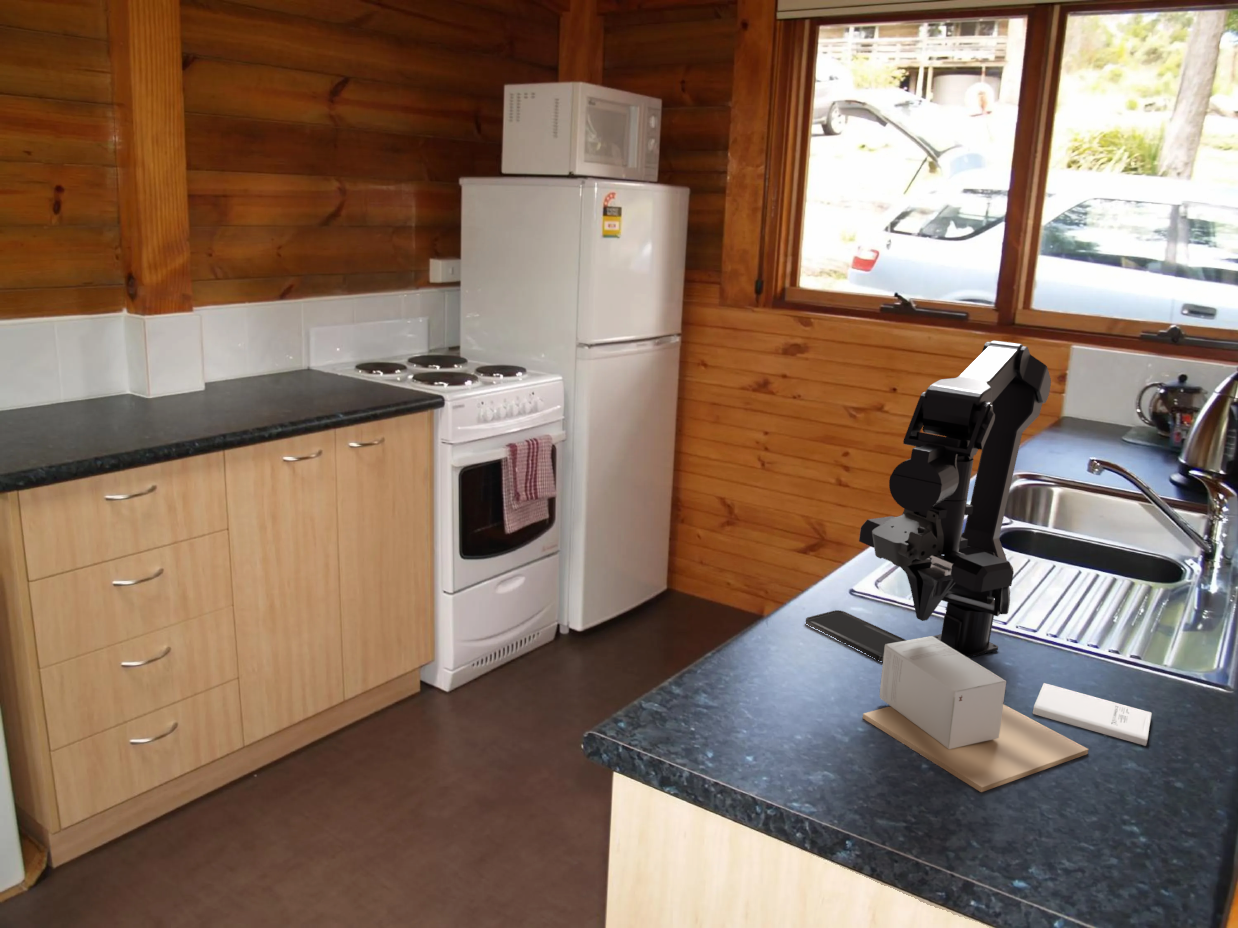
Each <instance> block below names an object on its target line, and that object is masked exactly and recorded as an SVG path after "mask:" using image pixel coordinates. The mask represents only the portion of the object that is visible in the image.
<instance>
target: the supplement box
mask: <svg viewBox="0 0 1238 928" xmlns="http://www.w3.org/2000/svg"><path fill="white" fill-rule="evenodd" d="M933 636H934V635H929V636H924V637H918V638H912V639H908V640H907V639H905V640H906V641H901V642H895V643H889V644H885V648H884V657H883V663H882V666H881V667H882V669H881V676H880V677H881V678H880V679H881V680H880V687H879V698H880V699H881V700H882V701H883V702H884V703H885V704H887V705H888V706H891V707H892V708H894V709H895V710H897V711H898V712H899V713H901V714H902V715H903V716H905V717H906V718H907V719H909V720H910V721H911V722H913V723H914V724H916V725H917V726H918V727H920V728H921V729H922V730H924V731H925V732H926V733H928V734H929V735H930V736H932V737H933V738H935V739H936V740H937V741H939V742H940V743H941V744H943V745H944V746H945V747H947V748H948V749H953V748H957V747H961V746H966V745H970V744H975V743H979V742H983V741H988V740H992V739H997V738H999V732H1000V725H1001V718H1002V710H1003V704H1004V701H1005V693H1006V688H1007V687H1006V686H1007V680H1005V679H1003V678H1002V677H1001V676H999V675H997V674H996V673H994V672H992V671H991V670H989V669H988V668H986V667H984V666H982V665H980V664H979V663H977V662H976V661H974V660H972V659H971V658H970V657H966V656H964V655H963V654H961V653H959V652H958V651H956V650H954V649H953V648H951V647H949V646H948V645H946V644H945V643H943V642H941V641H940V640H938V639H936V638H935V637H933Z"/></svg>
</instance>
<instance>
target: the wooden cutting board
mask: <svg viewBox="0 0 1238 928" xmlns="http://www.w3.org/2000/svg"><path fill="white" fill-rule="evenodd" d="M862 719H863V720H864V721H866V722H868V723H870V724H871V725H873V726H875V727H876V728H877V729H879V730H881V731H882V732H884V733H886V734H888V735H889V736H890V737H892V738H893V739H894V740H896V741H898V742H900V743H901V744H903V745H905V746H906V747H908V748H910V750H912V751H914V752H916V753H918V754H919V755H920V756H922V757H924V758H925V759H927V760H928V761H930V762H932V763H933V764H935V765H937V766H938V767H940V768H941V769H943V770H945V771H946V772H948V774H951V775H952V776H953V777H956V778H957V779H959V780H960V781H962V782H963V783H966V784H967V785H969V786H970V787H972V788H973V789H974V790H976V791H979V792H980V793H985V792H986V791H989V790H992V789H994V788H998V787H1000V786H1003V785H1006V784H1008V783H1011V782H1014V781H1016V780H1019V779H1022V778H1024V777H1028V776H1031V775H1034V774H1036V773H1038V772H1042V771H1045V770H1047V769H1049V768H1053V767H1055V766H1058V765H1061V764H1063V763H1066V762H1069V761H1072V760H1074V759H1077V758H1080V757H1083V756H1087V755H1088V754H1089V748H1087V747H1085V746H1084V745H1081V744H1080V743H1077V742H1076V741H1074V740H1072V739H1070V738H1068V737H1067V736H1065V735H1063V734H1061V733H1058V732H1057V731H1055V730H1053V729H1051V728H1049V727H1047V726H1046V725H1044V724H1041V723H1039V722H1037V721H1036V720H1034V719H1033V718H1031V717H1028V716H1027V715H1024V714H1022V713H1021V712H1019V711H1017V710H1015V709H1014V708H1011V706H1010V707H1009V706H1008V705H1006V704H1004V703H1003V710H1002V718H1001V725H1000V732H999V738H997V739H992V740H988V741H983V742H979V743H975V744H970V745H966V746H961V747H957V748H953V749H948V748H947V747H945V746H944V745H943V744H941V743H940V742H939V741H937V740H936V739H935V738H933V737H932V736H930V735H929V734H928V733H926V732H925V731H924V730H922V729H921V728H920V727H918V726H917V725H916V724H914V723H913V722H911V721H910V720H909V719H907V718H906V717H905V716H903V715H902V714H901V713H899V712H898V711H897V710H895V709H894V708H892V707H891V706H890V705H888V706H886V707H882V708H878V709H875V710H870V711H868V712H864V713H862Z"/></svg>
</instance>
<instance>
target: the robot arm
mask: <svg viewBox="0 0 1238 928" xmlns="http://www.w3.org/2000/svg"><path fill="white" fill-rule="evenodd" d="M981 350H982V351H981V353H980V354H979V355H978V356H977V357H976V358H975V359H974V360H973V361H972V362H971V363H970V364H968V366H967V367H966V368H965V369H964V370H963V371H962V372H961V373H960V374H959V375H958V376H957V377H951V378H943V379H939V380H937V381H935V382H933V383H931V384H930V385H929V386H928V387H927V389H926V390H925V391H924V392H922V393H921V395H920V396H919V398H918V400H917V404H916V405H915V408H914V411H913V414H912V417H911V420H910V422H909V425H908V427H907V431H906V433H905V434H904V438H903V441H902V442H903V443H902V444H903V445H906V446H911V447H913V448H912V450H911V453H910V458H909V459H906V460H904V461H902V462H900V463H899V464H898V465H897V466H896V467H895V468H894V469H893V471H892V473H891V475H890V477H889V479H888V483H889V484H888V485H889V491H890V495H891V497H892V498H893V501H895V503H896V504H897V505H898V506H899V507H901V508H902V509H903V512H902V514H900V515H899V516H893V515H891V516H885V517H876V518H868V519H866V520H865V521H864V522H863V524H862V525H861V526H860V528H859V529H860V531H859V538H858V542H860V543H862V544H864V545H867V546H869V547H872V548H873V549H874V555H875V557H877V558H878V559H884V560H886V561H887V562H890V563H892V564H893V565H894V566H897V567H899V568H901V570H903V572H904V573H905V574H906V578H907V581H908V583H909V587H910V592H911V596H912V602H913V607H914V611H915V615H916V616H915V617H916V619H917V620H920V621H921V622H923V621H924V622H925V621H928V620H929V619H930V617H931V616H932V615H933V613H934V612H935V610H936V609H937V608H938V606H939V604H940V603H941V601H942V602H946V609H945V614H944V615H943V621H942V628H941V633H940V634H936V635H932V636H933V637H935V638H936V639H938V640H940V641H941V642H943V643H945V644H946V645H948V646H949V647H951V648H953V649H954V650H956V651H958V652H959V653H961V654H963V655H964V656H966V657H968V658H972V657H977V656H979V655H984V654H987V653H991V652H995V651H998V650H999V646H998V645H996V644H995V643H992V642H991V641H990V640H991V635H992V630H993V629H992V628H993V623H994V617H999V616H1000V615H1008V614H1009V610H1010V605H1011V604H1010V603H1011V589H1010V587H1012V584H1013V579H1014V573H1015V572H1014V567H1013V566H1012V564H1011V562H1010V561H1008V559H1007V556H1006V554H1005V551H1004V548H1003V545H1002V543H1001V541H1000V540H1001V539H1000V536H1001V535H1000V534H1001V531H1002V527H1003V526H1002V525H1003V522H1004V517H1005V512H1006V509H1007V502H1008V500H1009V494H1010V490H1011V485H1012V480H1013V476H1014V473H1015V467H1016V462H1017V459H1018V455H1019V449H1020V445H1021V440H1022V436H1023V433H1024V432H1025V431H1026V430H1027V428H1029V427H1030V425H1032V424H1033V422H1034V421H1036V420H1037V419H1038V418H1039V417H1040V414H1041V410H1042V406H1043V404H1046V402H1047V401H1048V399H1049V395H1050V391H1051V383H1052V380H1051V379H1052V378H1051V375H1050V371H1049V369H1048V366H1047V365H1046V364H1045V363H1043V362H1042V361H1041V360H1039V359H1037V358H1036V357H1035V356H1034V355H1032V354H1031V353H1030V350H1029V347H1028V346H1024V345H1023V344H1022V343H1014V342H1010V341H1008V342H1007V341H1000V340H992V341H986V342H985V343H984V345H983V347H982V349H981ZM921 431H922V432H921ZM979 450H981V453H980V458H979V461H978V463H979V464H978V467H977V471H976V476H975V481H974V486H973V489H972V493H971V499H970V504H969V503H967V501H968V496H969V490H970V485H971V484H970V482H971V478H972V472H973V466H974V465H973V464H974V456H976V455H977V454H978V453H977V452H978V451H979ZM966 516H967V517H966ZM965 517H966V522H965V527H964V530H963V526H964V521H965Z"/></svg>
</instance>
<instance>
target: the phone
mask: <svg viewBox="0 0 1238 928" xmlns="http://www.w3.org/2000/svg"><path fill="white" fill-rule="evenodd" d="M805 622H806V624H808V625H809V626H811V627H814V628H815V629H818V630H820V631H822V632H824V633H825V634H828V635H830V636H832V637H834V638H836V639H837V640H839V641H841V642H843V643H846V644H847V645H850V646H852V647H854V648H856V649H858V650H860V651H862V652H863V653H866V654H867V655H869V656H871V657H873V658H875V659H876V660H875V659H874V660H875V661H877V660H879V661H882V662H883V657H884V648H885V644H889V643H895V642H901V641H906V640H907V639H905V638H903V637H901V636H899V635H896V634H894V633H892V632H890V631H888V630H885V629H883V628H882V627H879V626H877V625H875V624H872V623H870V622H868V621H865V620H864V619H862V618H860V617H857V616H855V615H853V614H851V613H848V612H846V611H844V610H840V609H839V610H836V609H835V610H831V611H828V612H823V613H820V614H816V615H811V616H808V617H805ZM863 653H862V654H863ZM867 655H866V656H867ZM869 656H868V657H869ZM871 657H870V658H871ZM873 658H872V659H873ZM879 661H878V662H879ZM882 662H881V663H882Z"/></svg>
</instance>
